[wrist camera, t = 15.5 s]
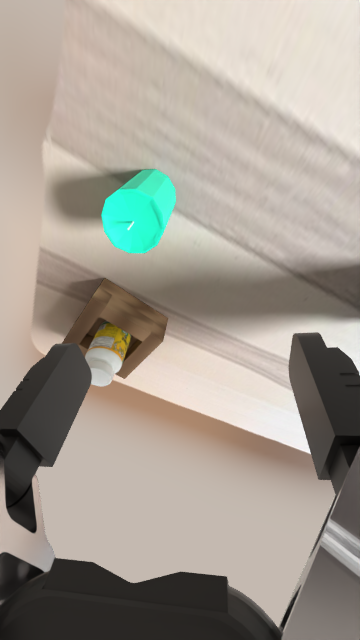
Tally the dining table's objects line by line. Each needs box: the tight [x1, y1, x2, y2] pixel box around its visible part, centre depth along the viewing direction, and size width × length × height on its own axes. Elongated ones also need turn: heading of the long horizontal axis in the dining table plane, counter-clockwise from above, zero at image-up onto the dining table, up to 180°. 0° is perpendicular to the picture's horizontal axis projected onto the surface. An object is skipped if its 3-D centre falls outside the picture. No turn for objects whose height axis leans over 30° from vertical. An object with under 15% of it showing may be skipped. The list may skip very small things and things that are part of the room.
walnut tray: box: [62, 278, 168, 379], centre depth 44 cm, size 12×12×6 cm
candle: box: [101, 169, 176, 253], centre depth 28 cm, size 6×6×12 cm
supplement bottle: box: [85, 321, 131, 386], centre depth 40 cm, size 5×5×10 cm
